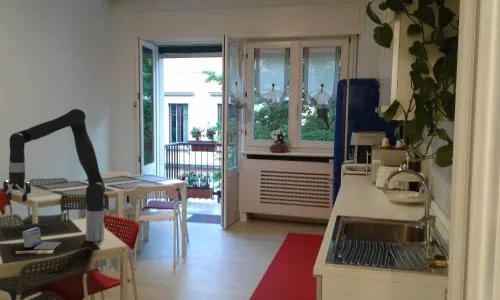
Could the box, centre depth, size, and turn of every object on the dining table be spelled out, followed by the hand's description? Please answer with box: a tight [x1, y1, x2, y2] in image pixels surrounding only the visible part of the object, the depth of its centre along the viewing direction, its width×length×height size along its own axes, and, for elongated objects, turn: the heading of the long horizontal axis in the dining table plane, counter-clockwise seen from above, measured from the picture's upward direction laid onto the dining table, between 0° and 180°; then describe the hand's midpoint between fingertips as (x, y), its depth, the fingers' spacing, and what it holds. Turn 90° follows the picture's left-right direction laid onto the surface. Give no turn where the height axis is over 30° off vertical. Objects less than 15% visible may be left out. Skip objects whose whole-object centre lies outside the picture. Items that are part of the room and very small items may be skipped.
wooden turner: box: [14, 249, 55, 255], centre depth 214 cm, size 17×4×1 cm, turn 106°
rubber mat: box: [33, 241, 62, 251], centre depth 225 cm, size 10×12×1 cm
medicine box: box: [21, 227, 43, 248], centre depth 224 cm, size 8×4×9 cm, turn 168°
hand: (16, 201), depth 224 cm, fingers open, 8 cm apart
